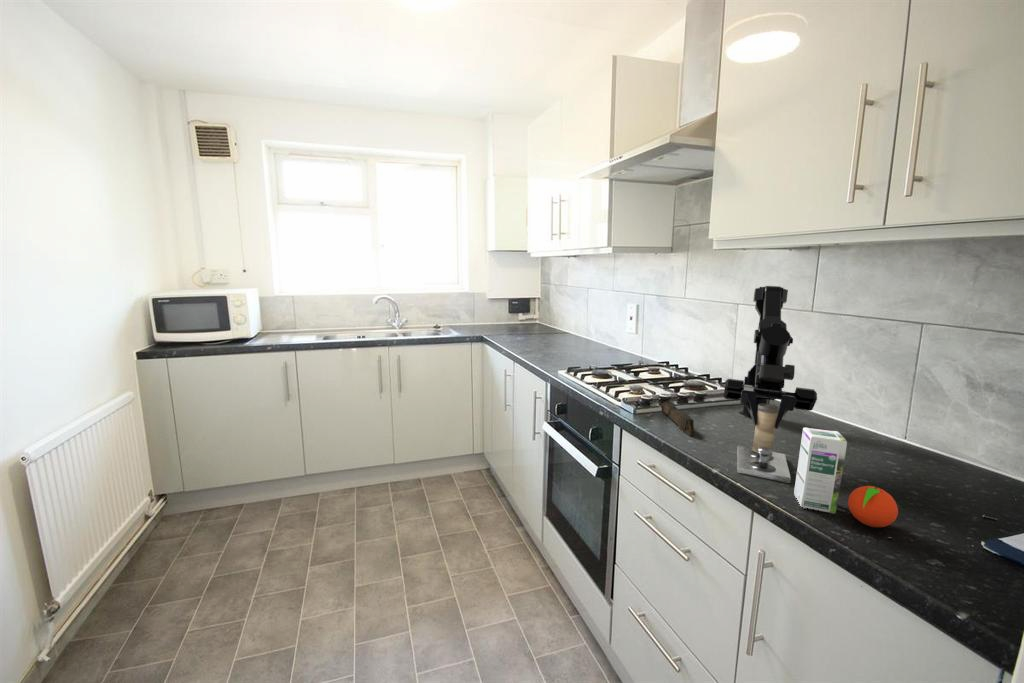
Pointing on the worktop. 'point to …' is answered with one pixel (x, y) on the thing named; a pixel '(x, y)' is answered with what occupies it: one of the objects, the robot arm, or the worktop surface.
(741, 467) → the plate
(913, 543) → the worktop surface
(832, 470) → the syrup box
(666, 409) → the brown rough bar
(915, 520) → the worktop surface
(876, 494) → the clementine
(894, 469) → the worktop surface
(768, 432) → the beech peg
